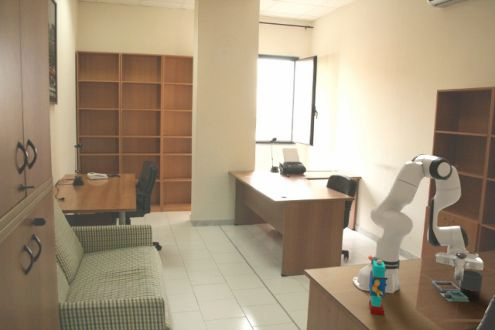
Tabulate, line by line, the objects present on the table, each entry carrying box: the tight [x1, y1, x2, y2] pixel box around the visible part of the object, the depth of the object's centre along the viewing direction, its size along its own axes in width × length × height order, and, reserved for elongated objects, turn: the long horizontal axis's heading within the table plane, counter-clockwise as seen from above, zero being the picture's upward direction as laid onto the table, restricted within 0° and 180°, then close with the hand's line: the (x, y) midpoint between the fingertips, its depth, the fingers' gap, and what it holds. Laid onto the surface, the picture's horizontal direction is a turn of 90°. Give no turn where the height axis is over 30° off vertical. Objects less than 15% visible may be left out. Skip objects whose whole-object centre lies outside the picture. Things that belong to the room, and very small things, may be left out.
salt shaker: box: [453, 253, 467, 282], centre depth 192 cm, size 4×4×12 cm
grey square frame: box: [431, 280, 460, 293], centre depth 205 cm, size 10×10×2 cm
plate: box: [439, 291, 470, 302], centre depth 194 cm, size 10×8×2 cm
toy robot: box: [368, 255, 386, 316], centre depth 178 cm, size 12×6×25 cm, turn 168°
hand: (460, 266), depth 191 cm, fingers closed on salt shaker, 4 cm apart
